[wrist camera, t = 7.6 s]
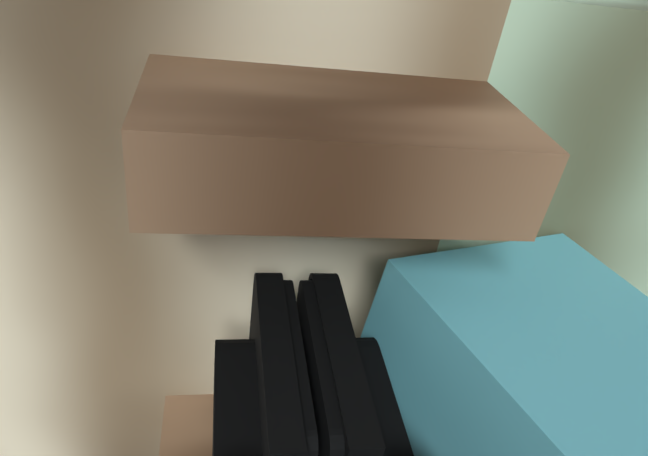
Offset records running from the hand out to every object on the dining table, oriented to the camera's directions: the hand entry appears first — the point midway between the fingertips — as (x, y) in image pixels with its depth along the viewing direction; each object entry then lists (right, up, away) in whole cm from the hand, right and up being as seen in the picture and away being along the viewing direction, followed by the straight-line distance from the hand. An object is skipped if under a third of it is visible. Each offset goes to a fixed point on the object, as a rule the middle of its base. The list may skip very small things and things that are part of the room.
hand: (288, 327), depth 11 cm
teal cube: (+4, 0, +1) cm, 4 cm away
